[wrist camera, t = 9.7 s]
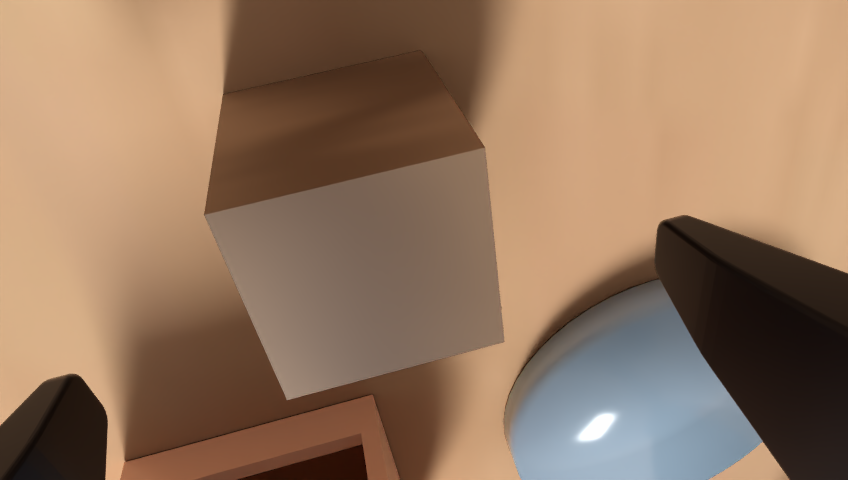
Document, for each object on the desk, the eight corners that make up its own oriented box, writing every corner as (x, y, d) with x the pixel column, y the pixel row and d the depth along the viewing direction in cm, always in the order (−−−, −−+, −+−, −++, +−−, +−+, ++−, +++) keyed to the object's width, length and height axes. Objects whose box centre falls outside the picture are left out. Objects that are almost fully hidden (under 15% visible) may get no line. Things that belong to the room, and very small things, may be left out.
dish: (838, 260, 18) (869, 285, 18) (724, 461, 24) (743, 488, 23) (531, 286, 16) (547, 315, 15) (485, 499, 22) (495, 531, 21)
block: (420, 49, 12) (484, 147, 9) (445, 211, 15) (504, 342, 11) (223, 93, 12) (204, 215, 8) (281, 251, 14) (287, 400, 11)
